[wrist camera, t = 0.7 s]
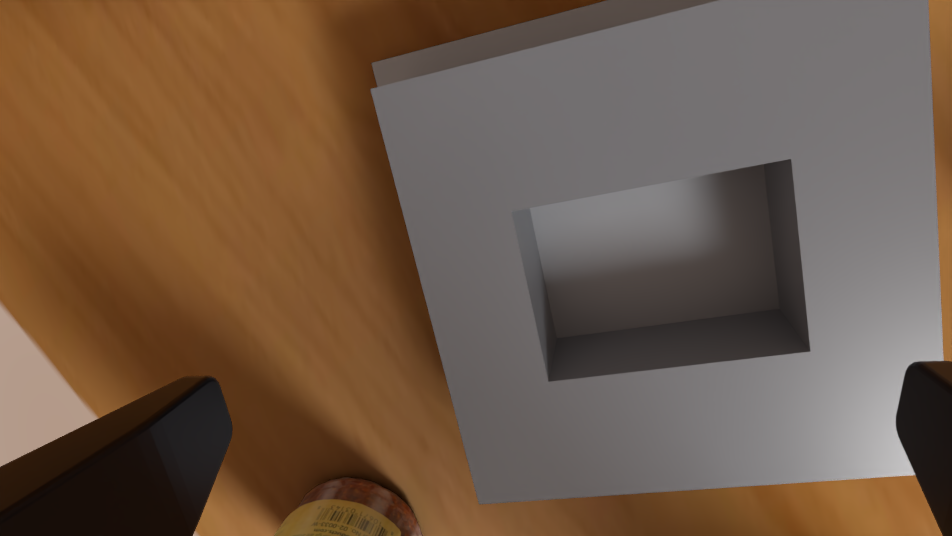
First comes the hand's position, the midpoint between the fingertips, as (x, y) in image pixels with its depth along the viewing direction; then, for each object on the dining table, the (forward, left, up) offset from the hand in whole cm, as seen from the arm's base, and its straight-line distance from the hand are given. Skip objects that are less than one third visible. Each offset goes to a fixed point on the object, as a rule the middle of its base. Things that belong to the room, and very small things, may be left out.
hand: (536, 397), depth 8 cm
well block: (-2, -2, -14) cm, 15 cm away
